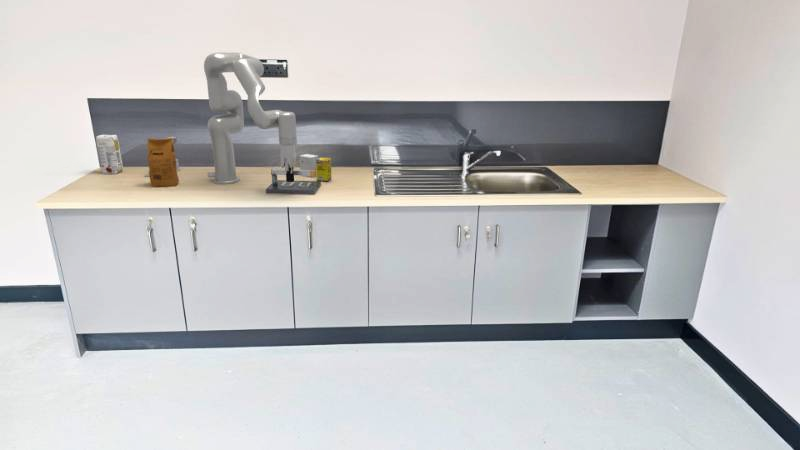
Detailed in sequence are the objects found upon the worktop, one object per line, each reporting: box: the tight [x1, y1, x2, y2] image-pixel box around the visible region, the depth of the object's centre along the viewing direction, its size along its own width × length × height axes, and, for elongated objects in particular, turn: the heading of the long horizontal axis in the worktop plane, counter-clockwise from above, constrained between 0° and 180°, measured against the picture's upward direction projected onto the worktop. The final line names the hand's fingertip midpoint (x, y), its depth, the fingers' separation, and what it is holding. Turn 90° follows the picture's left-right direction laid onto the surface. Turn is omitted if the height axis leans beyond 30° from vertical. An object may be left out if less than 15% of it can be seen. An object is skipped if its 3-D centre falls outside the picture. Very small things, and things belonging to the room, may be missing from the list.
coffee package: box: [147, 137, 180, 188], centre depth 232 cm, size 10×12×22 cm
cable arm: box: [270, 168, 316, 177], centre depth 230 cm, size 20×3×2 cm, turn 88°
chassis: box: [265, 175, 322, 196], centre depth 232 cm, size 22×16×6 cm
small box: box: [299, 153, 319, 179], centre depth 255 cm, size 8×6×10 cm
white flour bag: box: [95, 134, 124, 175], centre depth 251 cm, size 8×9×19 cm
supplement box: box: [316, 157, 332, 183], centre depth 247 cm, size 6×6×11 cm
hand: (290, 181), depth 224 cm, fingers closed
